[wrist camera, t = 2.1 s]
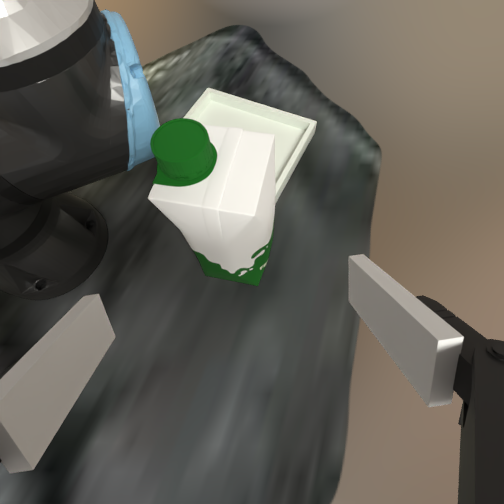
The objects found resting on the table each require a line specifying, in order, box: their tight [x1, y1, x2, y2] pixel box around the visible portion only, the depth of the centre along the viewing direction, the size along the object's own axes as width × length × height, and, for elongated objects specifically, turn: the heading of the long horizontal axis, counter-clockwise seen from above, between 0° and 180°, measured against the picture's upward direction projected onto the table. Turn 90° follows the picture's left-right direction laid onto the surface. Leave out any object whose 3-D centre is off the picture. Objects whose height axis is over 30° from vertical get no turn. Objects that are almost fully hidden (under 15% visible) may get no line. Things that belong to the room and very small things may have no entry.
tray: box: [184, 88, 317, 204], centre depth 43 cm, size 20×16×2 cm
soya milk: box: [148, 118, 276, 286], centre depth 27 cm, size 9×9×20 cm
